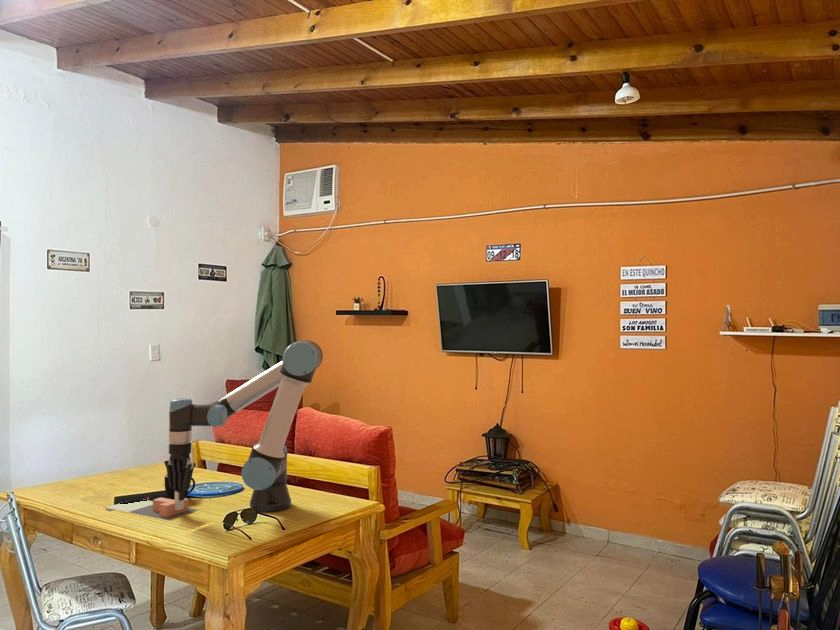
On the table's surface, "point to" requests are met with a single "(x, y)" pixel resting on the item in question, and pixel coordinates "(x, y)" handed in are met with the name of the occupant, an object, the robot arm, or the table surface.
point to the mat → (145, 509)
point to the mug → (170, 491)
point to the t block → (168, 506)
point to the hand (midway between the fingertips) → (178, 509)
